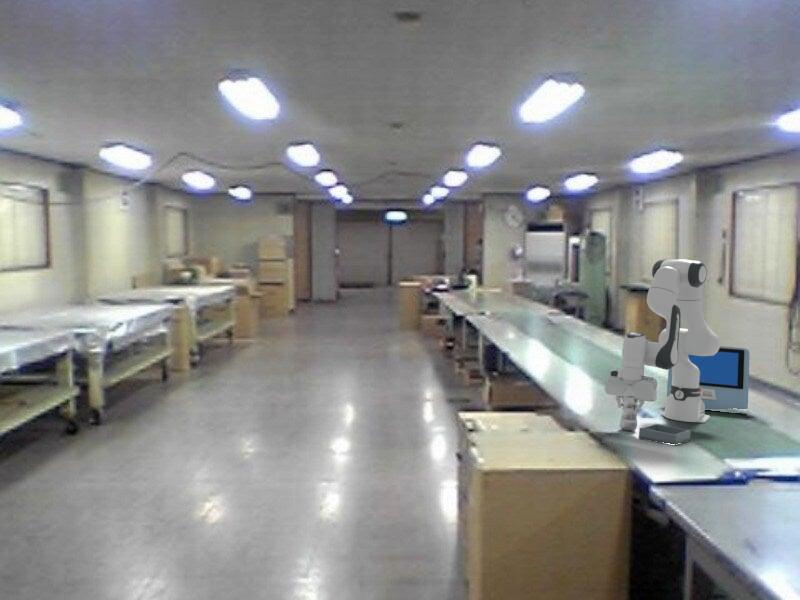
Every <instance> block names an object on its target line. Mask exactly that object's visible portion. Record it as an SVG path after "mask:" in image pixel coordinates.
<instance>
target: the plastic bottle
mask: <svg viewBox="0 0 800 600" xmlns="http://www.w3.org/2000/svg"><path fill="white" fill-rule="evenodd" d="M627 385H632V384H627ZM634 396H635V394H634V392H633V390H632V389H631V387H627V388H626V389H625V390H624V391H623V397H621V399H622V403H623V407H622V408H621V409H622V411H621V416H620V420H619V427H620V429H621V430H623V431H627V432H633V431H634V432H635V431H636V430H637V428H638V427H637V426H638V417H637V415H638V413H637V412H638V411H636V406H638V405H639V399H634Z"/></svg>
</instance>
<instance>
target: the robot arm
mask: <svg viewBox="0 0 800 600" xmlns="http://www.w3.org/2000/svg"><path fill="white" fill-rule="evenodd" d="M707 275H708V270H707V267H706V265H705V264H704V262H702V261H698V260H689V259H666V258H665V259H660V260H657V261H655V263H654V264H653V266H652V271H651V276H652V280H651V282H650V286H649V288H648V291H647V292H648V293H647V295H646V304H647V306H648V308H649V309H650V310H651V311H652V312H653V313H655V314H656V315H658V316H660V317H661V318H663V319H664V320H665V321H666V327H665V328H664V329H663V330H661V332H660V333H659V336H658V342H656V341H649V340H648V339H646V335H645V334H644V333H643V332H637V331H636V332H628V333H626V334H625V335H624V339H623V343H622V348H621V349H622V350H621V357H622V361H621V365H620V368H616V369H611V370H609V371H608V373H607V375H608V377H607V378H606V381H605V386H604V392H605V394H606V395H610V396H614V397H615V400H616V402H617V408H618V409H619V408H620V409H622V407H623V402H622V401H621V399H622V397H623V391H624V390H625V389H626V388H627V387H631V389H632V390H633V392H634V394H635V396H634V399H639V400H638V404H637V406H636V411H637V412H641V411H642V407H643V405H644V404H645V402H655V401H656V400H657V396H658V395H657V392H658V391H657V388H658V381H657V379H656V378H655V377H653V376H646V375H644V374H645V366H647V367H653V368H658V369H662V370H667V371H668V370H669V369H670V368H672V385H671V388H670V393H671V394H670V396H668V397H667V396H666V399H665V406H664V412H661V416H662V417H665V418H666V419H668V420H669V419H670V420H674V421H679V422H684V423H685V422H686V423H700V424H701V423H702V424H704V423H706V422H708V421H709V419H710V418H711V415H709V414H705V412H706V411H705V404H704V403H703V401H702V400H701V398H700V392H702V388H699V380H700V370H699V368H698V367H697V366H696V365H694V364H693V363H691V361H690V360H689V357H688V355H695V356H713V355H715V354H716V353H717V352H718V350H719V348H720V346H721V341H720V338H719V336H718V335H717V334H716V332H715V331H713V330H712V329H711V328H710V327H709V325H708V324H707V322H706V320H705V316H704V309H703V307H704V306H703V304H704V303H703V286H702V285H703V284H704V283H705V281H706V279H707V277H708V276H707ZM681 322H682V323H683V324H684V325H685V326H686V328H682V327H681ZM627 384H632V385H627Z"/></svg>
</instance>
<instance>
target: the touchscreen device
mask: <svg viewBox="0 0 800 600" xmlns="http://www.w3.org/2000/svg"><path fill="white" fill-rule="evenodd" d="M688 357H689V360H690V361H691V363H693V364H694V365H696V366H697V367H698V368H699V370H700V380H699V388H702V392H700V398H701V400H702V401H703V403H704V404H705V409H728V408H729V409H730V408H731V409H733V408H737V409H748V408H749V387H750V386H749V383H750V382H749V381H750V350H749V349H747V348H744V347H733V346H722V345H720V348H719V350H718V352H717V353H716V354H715V355H713V356H695V355H688ZM667 371H668V373H667V374H668V375H667V386H666V387H667V390H666V398H667V397H668V396H670V394H671V393H670V388H671V385H672V368H670V369H668V370H667Z"/></svg>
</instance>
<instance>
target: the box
mask: <svg viewBox="0 0 800 600" xmlns="http://www.w3.org/2000/svg"><path fill="white" fill-rule="evenodd" d="M638 431H639V432H638V439H639V438H640V440H643V439H645V440H644V441H648V440H651V441H650V442H653V441H657V442H656V443H658V442H664V443H670V444H675V445H676V444H678V443H682V442H685V443H687V442H686V441H688V442H690V441H691V432H692V431H691V429H685V428H680V427H675V426H670V425H666V424H665V425H664V424H658V423H652V424H648V425H645V426H641V427H639V428H638ZM682 444H683V443H682Z"/></svg>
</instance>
